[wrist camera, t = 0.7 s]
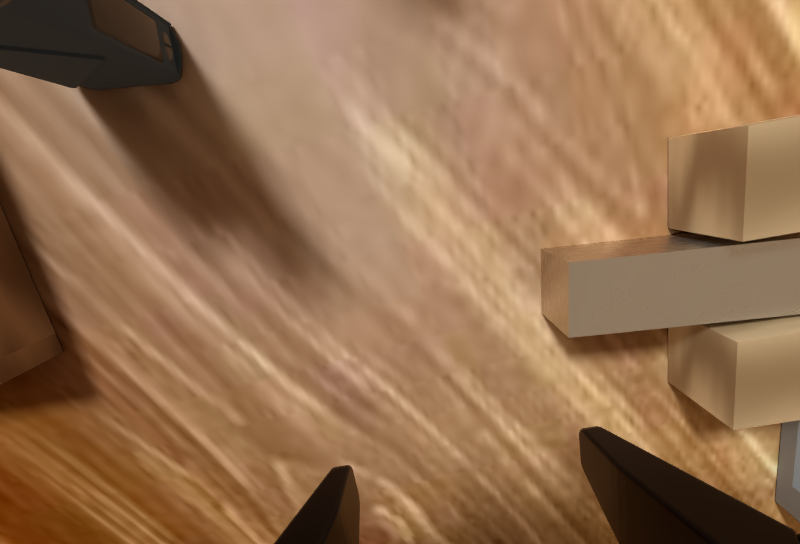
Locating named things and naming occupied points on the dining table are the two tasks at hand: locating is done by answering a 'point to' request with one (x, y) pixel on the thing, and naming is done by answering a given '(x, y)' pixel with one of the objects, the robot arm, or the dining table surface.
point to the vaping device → (88, 43)
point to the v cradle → (789, 469)
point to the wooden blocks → (742, 221)
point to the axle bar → (668, 282)
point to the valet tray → (21, 313)
